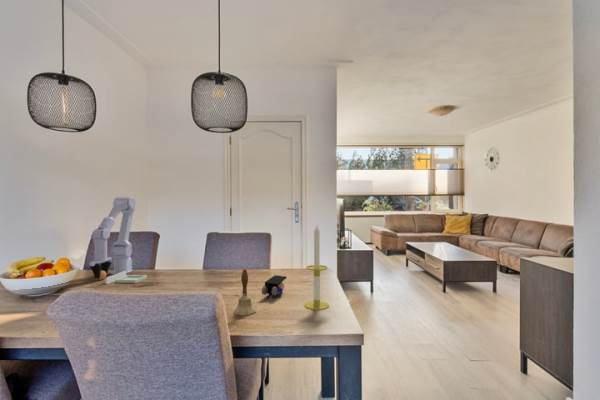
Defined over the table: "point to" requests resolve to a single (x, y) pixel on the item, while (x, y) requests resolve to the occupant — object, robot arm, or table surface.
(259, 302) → the table surface
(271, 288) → the figurine character
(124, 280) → the tray
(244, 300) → the hand bell
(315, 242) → the candle
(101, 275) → the ball
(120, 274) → the wall
